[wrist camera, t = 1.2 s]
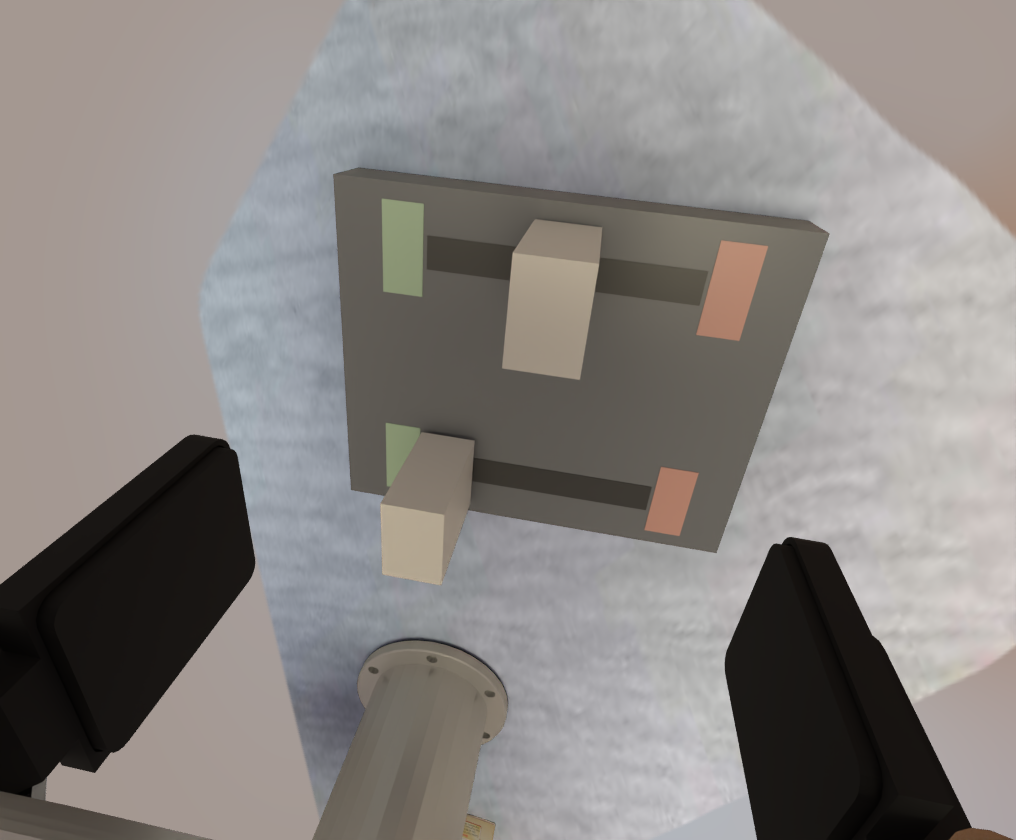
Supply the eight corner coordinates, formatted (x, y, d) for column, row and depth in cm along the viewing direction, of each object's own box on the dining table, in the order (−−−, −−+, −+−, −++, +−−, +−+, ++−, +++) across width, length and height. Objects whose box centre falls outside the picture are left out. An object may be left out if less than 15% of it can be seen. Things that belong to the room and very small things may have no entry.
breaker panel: (708, 520, 36) (716, 553, 33) (369, 463, 38) (350, 490, 35) (808, 220, 27) (830, 233, 24) (358, 167, 29) (333, 174, 27)
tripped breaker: (586, 322, 28) (579, 380, 22) (524, 313, 28) (502, 368, 22) (602, 227, 25) (599, 264, 20) (534, 218, 26) (512, 252, 20)
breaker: (470, 504, 34) (441, 585, 28) (420, 495, 34) (382, 574, 29) (474, 440, 32) (444, 514, 26) (421, 432, 32) (380, 503, 26)
